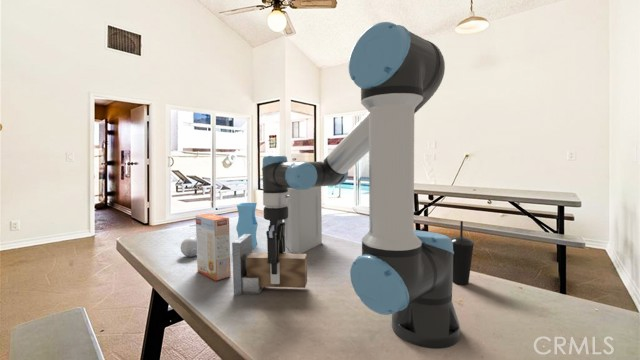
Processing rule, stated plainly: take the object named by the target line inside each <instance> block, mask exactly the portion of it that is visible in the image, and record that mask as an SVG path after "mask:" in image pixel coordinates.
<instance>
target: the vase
mask: <svg viewBox="0 0 640 360" xmlns="http://www.w3.org/2000/svg"><path fill="white" fill-rule="evenodd" d="M256 207H257V202H240V203H238V204H236V208H237V213H238V221H237V223H236V224H237V225H236V234H237V239H238V238H239V237H241V236H242V235H244V234H251V236H252V249H255V248H256V247H257V245H258V240H257V230H258V221H257V219H256V209H257V208H256Z"/></svg>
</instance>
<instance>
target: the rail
mask: <svg viewBox="0 0 640 360" xmlns="http://www.w3.org/2000/svg"><path fill="white" fill-rule="evenodd" d="M285 253H286V252H284V253H279V262H280V284H271V274H270V263H267V261H268V252H252V253H251V254H250V255H248V256H247V257H246V263H247V276H250V277H259V282H260V287H263V288H265V287H266V288H296V289H297V288H300V289H301V288H302V289H305V288H306V286H307V284H308V263H307V262H308V258H307V257H308V255H307V253H301V254H297V253H286V254H285Z"/></svg>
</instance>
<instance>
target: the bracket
mask: <svg viewBox="0 0 640 360" xmlns="http://www.w3.org/2000/svg"><path fill="white" fill-rule="evenodd" d="M231 249H232V250H231V251H232V254H231V255H232V278H233V280H232V281H233V283H232V284H233V296H242V295H260V293H261V292H262V290H263V289H264V287H260V282H259V277H250V276H247V263H246V257H247V256H248V255H250V254H251V253H253V248H252V236H251V234H244V235H242V236H241V237H239V238H238V237H237V239H235V240H233V241H232V242H231Z"/></svg>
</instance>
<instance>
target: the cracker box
mask: <svg viewBox="0 0 640 360" xmlns="http://www.w3.org/2000/svg"><path fill="white" fill-rule="evenodd" d="M195 230H196V231H195V236H196V237H195V238H196V239H197V255H196V262H197V272H198V273H200V274H203V275H204V276H206V277H208V278H210V279H211V280H214V281H215V282H217V281H221V280H223V279H227V278H230V277H231V276H232V275H231V274H232V273H231V247H230V245H231V244H230V243H231V240H230V239H231V238H230V218H229V217H226V216H221V215H218V214H213V213H204V214H197V215H195Z"/></svg>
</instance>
